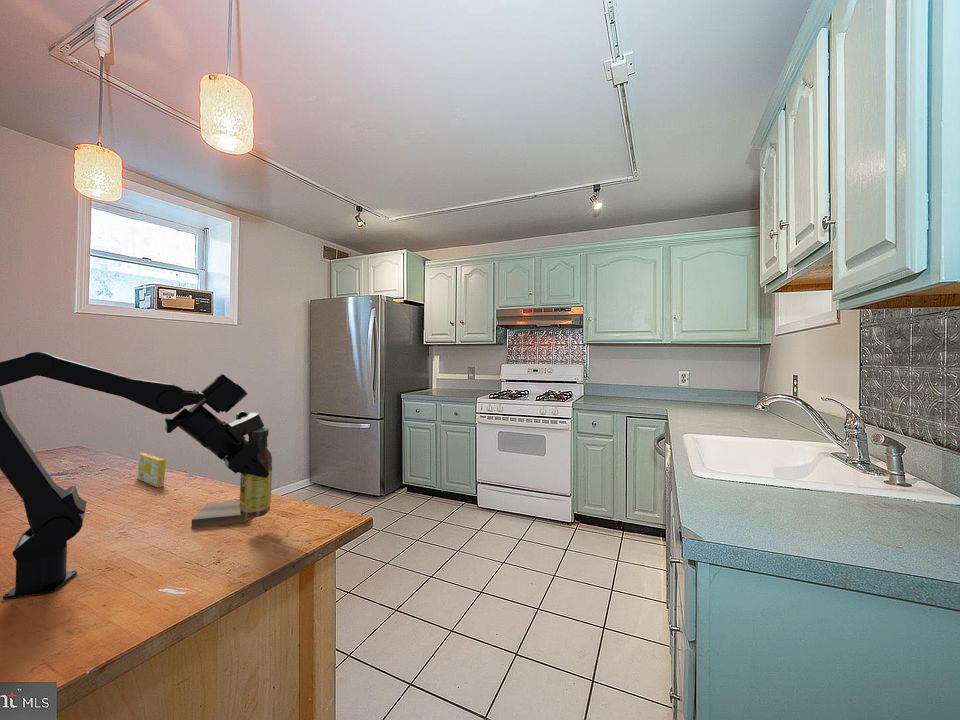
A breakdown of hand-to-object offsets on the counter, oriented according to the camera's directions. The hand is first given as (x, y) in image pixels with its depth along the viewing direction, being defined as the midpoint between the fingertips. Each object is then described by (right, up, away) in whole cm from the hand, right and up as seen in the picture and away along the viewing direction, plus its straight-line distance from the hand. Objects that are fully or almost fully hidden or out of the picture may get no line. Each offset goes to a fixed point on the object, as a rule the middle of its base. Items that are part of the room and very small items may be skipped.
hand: (263, 472), depth 90 cm
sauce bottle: (-2, -10, 0) cm, 10 cm away
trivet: (-13, -13, +7) cm, 20 cm away
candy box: (-54, -13, +32) cm, 64 cm away
